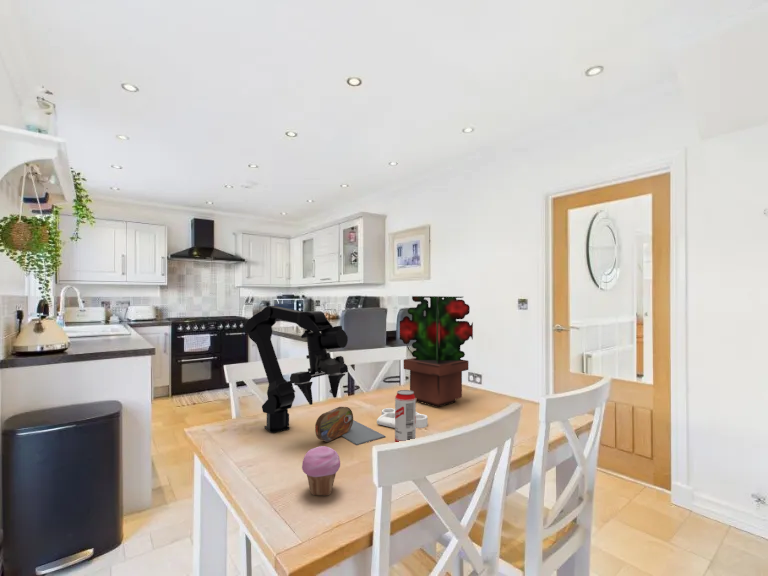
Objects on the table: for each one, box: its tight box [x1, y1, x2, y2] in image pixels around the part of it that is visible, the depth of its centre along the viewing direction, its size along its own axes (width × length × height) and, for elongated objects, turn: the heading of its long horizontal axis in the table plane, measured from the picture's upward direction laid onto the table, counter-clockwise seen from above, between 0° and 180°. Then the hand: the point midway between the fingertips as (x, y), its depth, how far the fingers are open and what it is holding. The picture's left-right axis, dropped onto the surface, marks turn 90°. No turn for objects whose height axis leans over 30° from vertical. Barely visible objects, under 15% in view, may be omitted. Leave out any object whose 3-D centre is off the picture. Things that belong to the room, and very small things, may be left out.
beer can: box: [394, 389, 417, 443], centre depth 113 cm, size 6×6×16 cm
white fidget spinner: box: [376, 407, 428, 429], centre depth 133 cm, size 3×18×15 cm
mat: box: [340, 419, 386, 446], centre depth 123 cm, size 11×19×1 cm, turn 37°
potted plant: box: [399, 295, 474, 408], centre depth 161 cm, size 22×22×45 cm
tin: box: [314, 406, 354, 443], centre depth 119 cm, size 15×3×8 cm, turn 143°
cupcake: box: [301, 445, 341, 496], centre depth 86 cm, size 9×9×10 cm
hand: (323, 400), depth 117 cm, fingers open, 9 cm apart
